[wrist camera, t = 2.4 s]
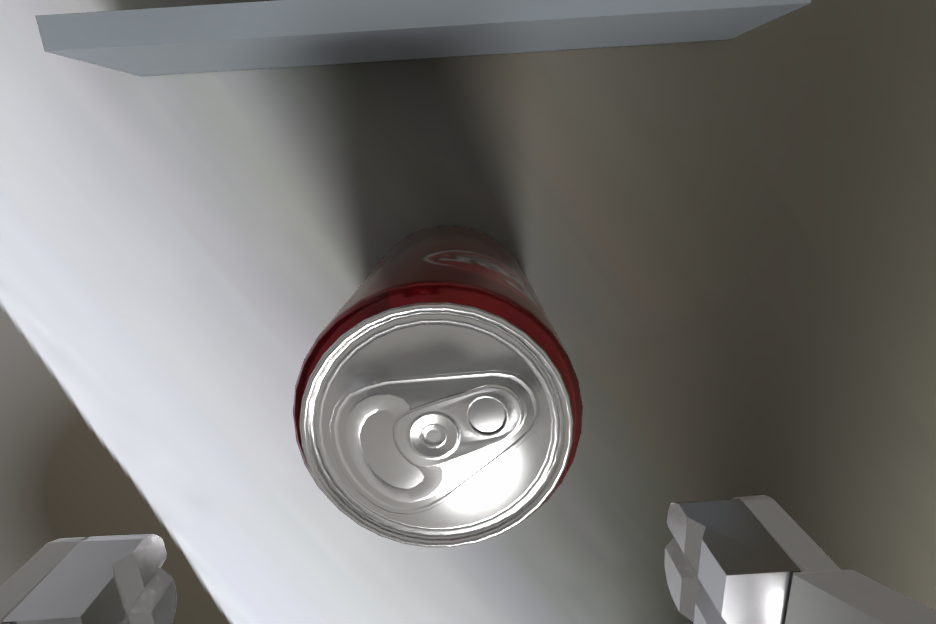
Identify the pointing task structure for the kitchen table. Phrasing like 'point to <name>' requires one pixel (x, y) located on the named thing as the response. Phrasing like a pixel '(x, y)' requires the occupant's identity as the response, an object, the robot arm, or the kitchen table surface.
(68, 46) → the acrylic wall
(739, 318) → the kitchen table surface
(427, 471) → the soda can
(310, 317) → the kitchen table surface
